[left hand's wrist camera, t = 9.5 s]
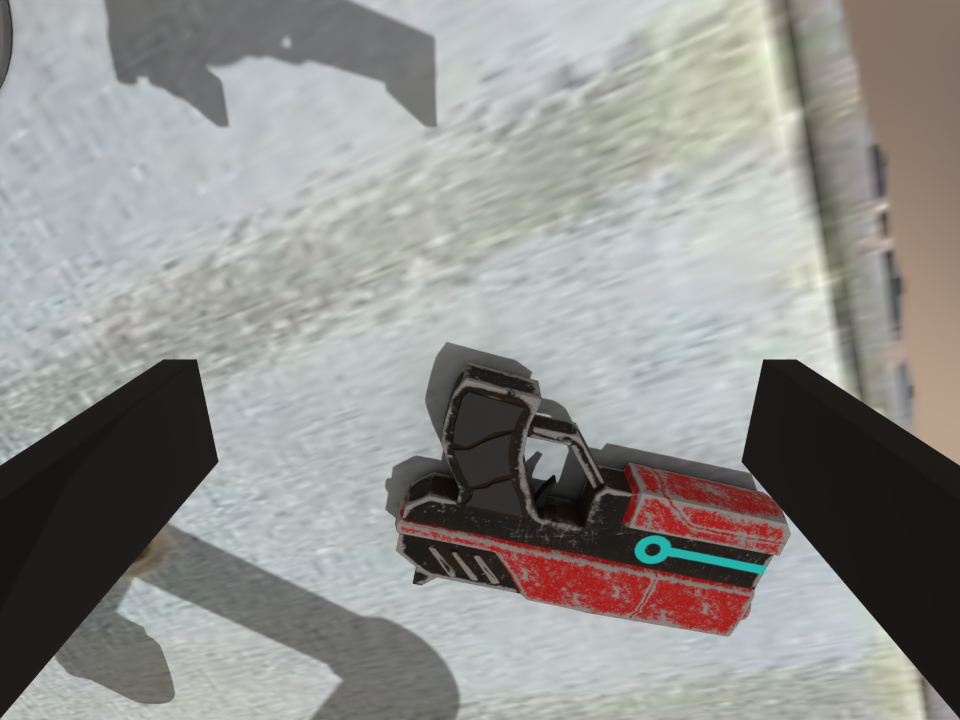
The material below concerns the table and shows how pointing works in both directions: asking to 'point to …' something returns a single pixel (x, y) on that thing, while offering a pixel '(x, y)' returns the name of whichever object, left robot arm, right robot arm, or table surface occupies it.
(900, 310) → the table surface
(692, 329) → the table surface
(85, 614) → the left robot arm
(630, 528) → the gun
